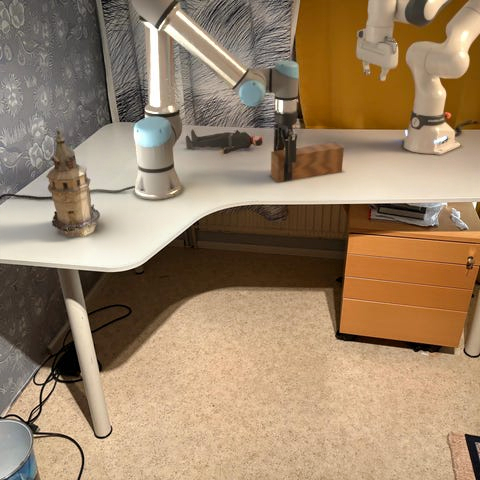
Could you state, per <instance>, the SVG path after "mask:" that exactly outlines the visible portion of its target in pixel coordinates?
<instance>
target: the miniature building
mask: <svg viewBox="0 0 480 480" xmlns="http://www.w3.org/2000/svg"><path fill="white" fill-rule="evenodd" d="M56 134H57V136H56V138H55V140H54V141H55V142H56V147H55V154H54V156H52V157H51V161H52V162H53V165H54V167H53V168H51V169H50V170H49V171H48V173H47V174H46V178H47V179H48V182H49V184H48V186H47V190H48V191H49V193H50V194H51V196H52V199H51V200H52V201H53V205H54V209H55V211H53V217H52V220H51V223H52V225H51V227H54V228H56V229H58V230H59V231H60V234H63V235H64V234H65V235H66V236H69V237H77V236H80V237H83V236H87V235H88V234H90V233H93V232H94V231H95V229H96V226H97V225H98V223H99V220H100V216H101V213H100V212H99V210H98V209H96V208H95V204H92V201H91V200H92V199H91V198H92V197H91V193H92V192H91V191H90V190H91V188H90V184H91V178H89V177H88V174H87V167H85V166H84V165H83V166H82V165H80V164H77V160H76V154H75V151H74V150H70V149H69V147H68V145H67V143H66V138H65V137H64V136H63V135H61V130H60V129H56Z"/></svg>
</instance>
